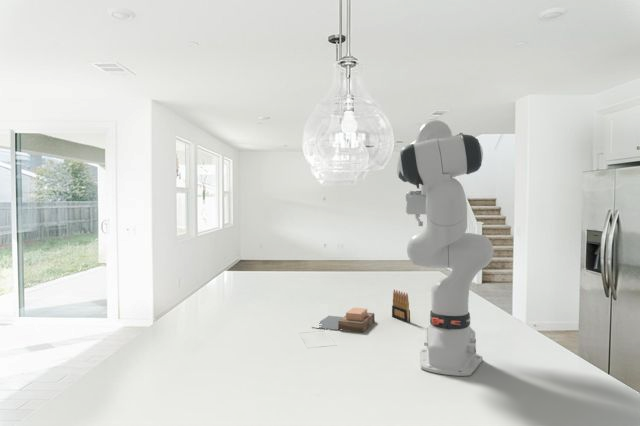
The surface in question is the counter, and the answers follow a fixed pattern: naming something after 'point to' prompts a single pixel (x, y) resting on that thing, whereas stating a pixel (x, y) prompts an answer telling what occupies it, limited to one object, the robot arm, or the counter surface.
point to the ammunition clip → (400, 306)
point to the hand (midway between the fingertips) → (433, 226)
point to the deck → (356, 323)
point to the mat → (330, 322)
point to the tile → (356, 313)
